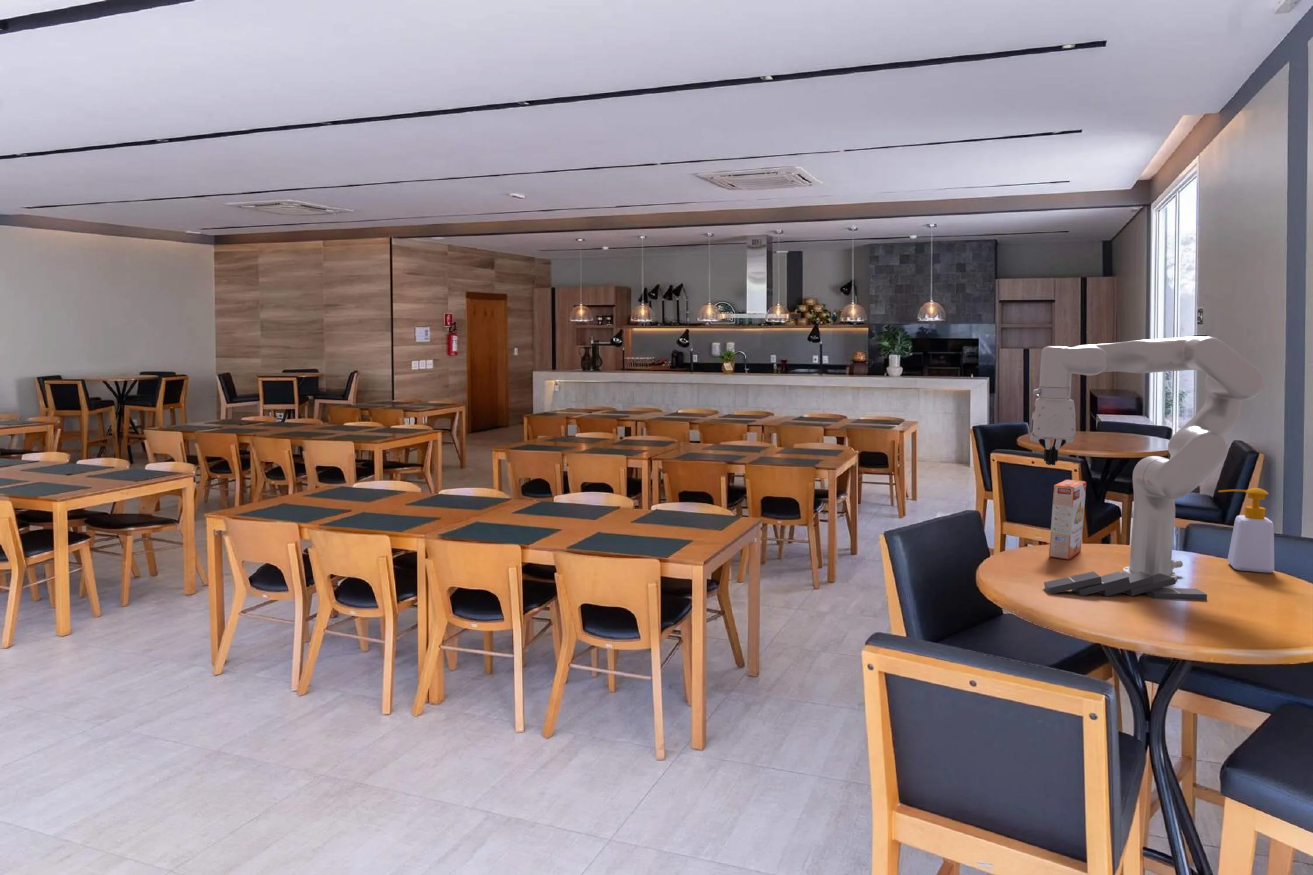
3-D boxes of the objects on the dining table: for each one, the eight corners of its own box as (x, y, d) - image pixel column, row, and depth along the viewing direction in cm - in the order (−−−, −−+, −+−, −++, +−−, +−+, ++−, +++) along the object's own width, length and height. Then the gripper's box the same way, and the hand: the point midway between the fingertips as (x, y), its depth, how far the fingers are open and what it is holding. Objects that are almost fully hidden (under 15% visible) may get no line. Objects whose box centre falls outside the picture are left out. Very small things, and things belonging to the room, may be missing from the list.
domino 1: (1049, 587, 222) (1100, 576, 221) (1043, 582, 227) (1093, 571, 226) (1051, 594, 223) (1102, 583, 221) (1045, 588, 228) (1094, 577, 226)
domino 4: (1131, 589, 221) (1174, 577, 223) (1117, 584, 226) (1160, 573, 228) (1132, 595, 221) (1175, 584, 223) (1118, 590, 226) (1160, 579, 228)
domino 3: (1104, 590, 221) (1152, 576, 221) (1094, 584, 226) (1140, 571, 226) (1106, 596, 221) (1154, 582, 221) (1095, 590, 226) (1142, 577, 226)
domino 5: (1154, 593, 220) (1207, 594, 219) (1145, 587, 225) (1196, 588, 224) (1154, 599, 220) (1206, 600, 219) (1145, 593, 225) (1196, 594, 224)
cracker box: (1070, 560, 256) (1075, 486, 253) (1047, 557, 259) (1052, 484, 257) (1082, 551, 267) (1087, 480, 264) (1060, 548, 270) (1065, 478, 268)
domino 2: (1079, 589, 221) (1128, 576, 220) (1070, 584, 226) (1118, 571, 225) (1081, 596, 221) (1129, 583, 220) (1072, 590, 226) (1119, 577, 225)
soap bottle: (1208, 561, 257) (1214, 483, 254) (1266, 566, 252) (1273, 486, 249) (1215, 569, 248) (1221, 488, 245) (1275, 574, 243) (1282, 492, 240)
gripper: (1028, 394, 234) (1024, 465, 236) (1089, 395, 232) (1085, 467, 234) (1020, 392, 241) (1016, 461, 243) (1080, 393, 239) (1076, 463, 241)
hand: (1050, 464), depth 239 cm, fingers closed
